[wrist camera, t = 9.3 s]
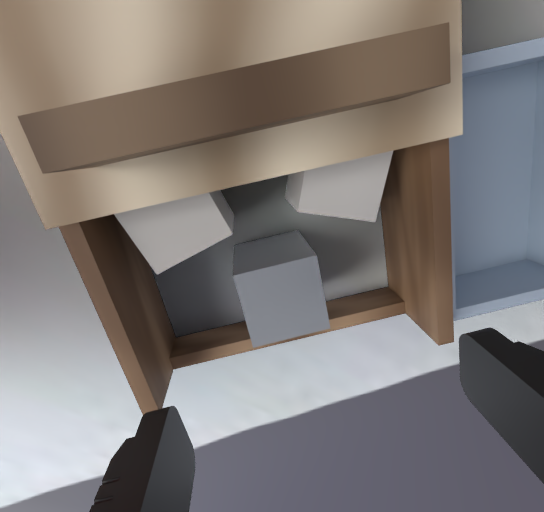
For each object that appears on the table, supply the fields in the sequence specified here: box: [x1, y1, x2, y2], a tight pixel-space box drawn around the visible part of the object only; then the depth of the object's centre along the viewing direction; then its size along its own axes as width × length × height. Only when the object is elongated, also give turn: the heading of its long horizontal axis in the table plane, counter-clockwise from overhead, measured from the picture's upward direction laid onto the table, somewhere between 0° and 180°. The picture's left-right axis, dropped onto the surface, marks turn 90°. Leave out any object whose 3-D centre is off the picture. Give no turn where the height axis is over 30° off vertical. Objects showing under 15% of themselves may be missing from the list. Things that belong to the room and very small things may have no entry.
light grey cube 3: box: [285, 151, 393, 222], centre depth 16 cm, size 4×4×4 cm
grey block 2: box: [233, 230, 330, 348], centre depth 18 cm, size 4×4×5 cm
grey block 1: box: [114, 190, 234, 275], centre depth 16 cm, size 4×4×5 cm
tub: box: [449, 37, 544, 321], centre depth 18 cm, size 9×13×4 cm, turn 12°
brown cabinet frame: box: [59, 138, 454, 415], centre depth 17 cm, size 16×13×6 cm
